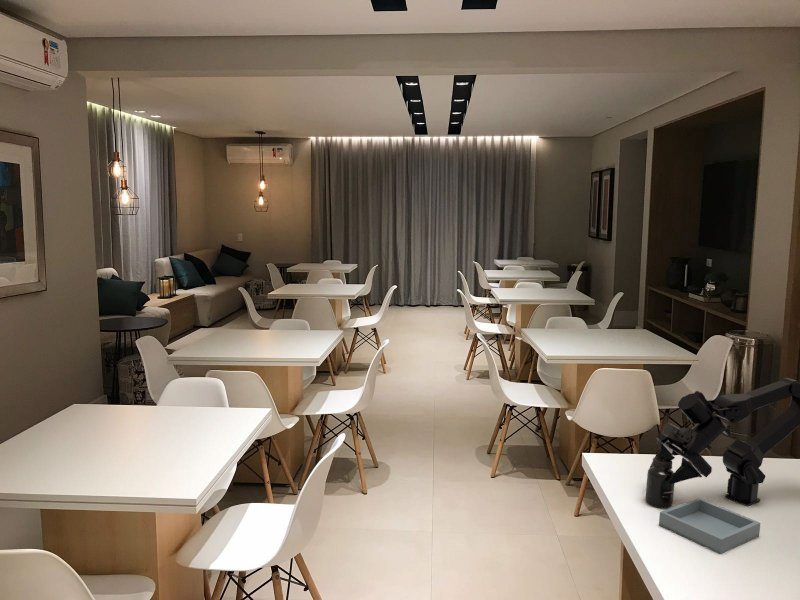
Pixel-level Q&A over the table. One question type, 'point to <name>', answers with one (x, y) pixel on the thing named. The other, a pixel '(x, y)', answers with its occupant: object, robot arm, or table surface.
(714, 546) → the box
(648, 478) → the supplement bottle
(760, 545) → the table surface
